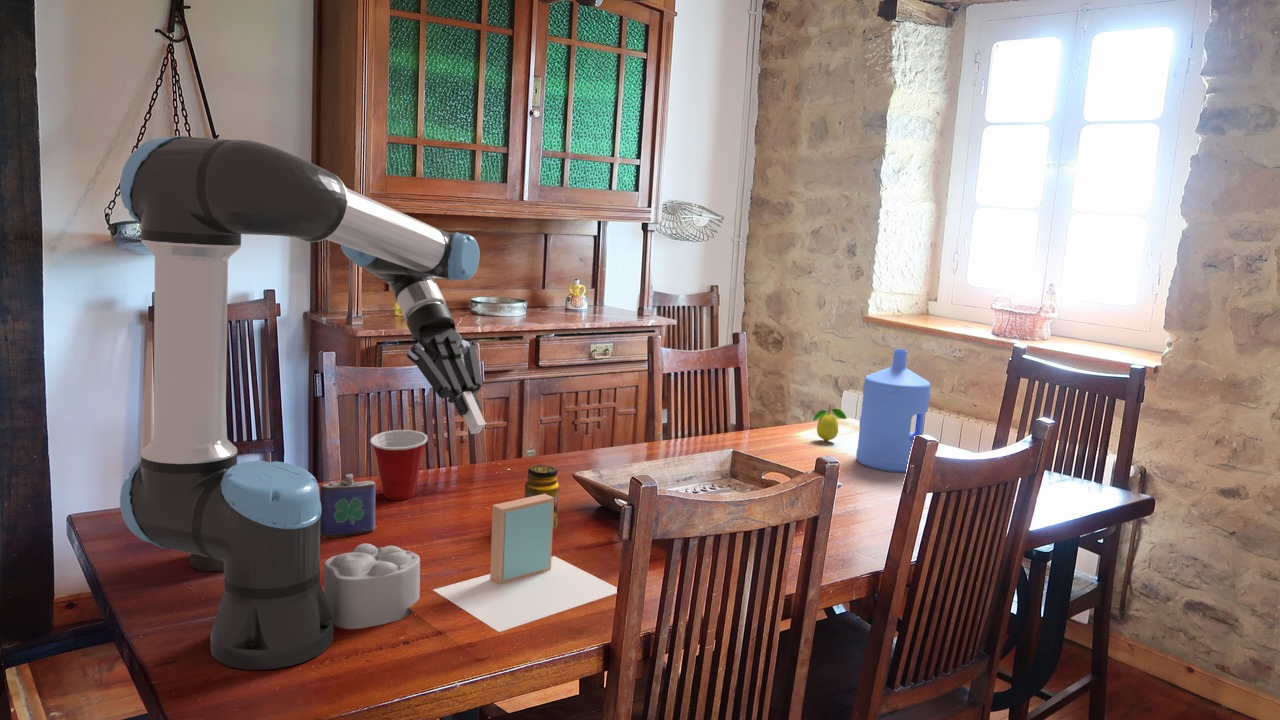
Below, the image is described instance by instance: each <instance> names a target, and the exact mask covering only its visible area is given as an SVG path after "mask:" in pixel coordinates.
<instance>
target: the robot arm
mask: <svg viewBox="0 0 1280 720" xmlns="http://www.w3.org/2000/svg"><path fill="white" fill-rule="evenodd" d="M119 191H120V192H119V194H120V198H121V203H122V205H123V206H124V208H125V209H126V210H128V214H129V215H130V217H131V218H132V219H134V220H135V221H136V222H137V223H139V224H140V226H141V232H140V233H141V236H140V237H141V238H140V239H141V243H142V244H143V245H144V246H145V247H146V248H147V249H148V250H149V251H150V252H151V253H152V254H153V257H154V302H153V303H154V306H153V307H154V313H153V314H154V315H153V316H154V318H153V319H154V320H153V321H154V323H153V325H154V326H153V327H154V329H153V331H154V333H153V334H154V335H153V337H154V339H153V349H154V350H153V352H154V354H153V358H154V359H153V360H154V362H153V363H154V364H153V365H154V366H153V373H154V374H153V376H154V377H153V438H152V440H151V441H150V442H149V443H148V444H147V445H145V447H144V448H142V449H141V451H140V461H138V462H137V463H136V464H135V465H133V467H131V469H130V470H129V472H128V476H129V477H128V478H127V479H124V481H123V482H122V486H121V488H120V495H119V497H120V498H119V506H120V507H119V508H120V513H121V517H122V519H123V521H124V523H125V525H126V527H127V528H128V529H129V531H130V532H131V533H132V534H133V535H134V536H136V537H137V538H139V539H140V540H142V541H144V542H147V543H150V544H153V545H154V546H156V547H160V548H161V549H164V550H175V551H180V552H184V553H188V554H190V553H192V554H196V555H201V556H205V557H209V558H214V559H218V560H222V561H223V562H224V571H223V574H224V575H223V576H224V577H223V578H224V579H223V582H224V588H223V589H224V590H223V595H222V597H221V601H220V603H219V607H218V609H217V612H216V616H215V618H214V620H213V624H212V628H211V629H210V630H211V631H210V636H209V637H210V642H209V643H210V653H211V656H212V657H213V658H214V660H216V661H217V662H219V663H221V664H223V665H225V666H228V667H230V668H231V667H232V668H235V669H241V670H250V671H251V670H254V671H259V670H260V671H262V670H265V671H266V670H273V669H274V670H276V669H281V668H287V667H292V666H295V665H298V664H301V663H305V662H306V661H307V662H308V661H310V660H312V659H314V658H316V657H318V656H320V655H321V654H323V652H325V651H326V650H327V649H328V648H329V647H330V646H331V644H332V643H333V641H334V631H335V630H334V628H335V627H334V626H335V624H334V622H333V617H332V615H331V612H330V609H329V606H328V604H327V601H326V598H325V596H324V589H323V588H322V585H321V576H320V575H321V573H320V570H321V533H320V524H321V510H322V508H321V500H320V496H321V495H320V486H319V483H318V481H317V479H316V477H315V476H314V475H313V474H312V473H311V472H310V471H308V470H307V469H305V468H302V467H301V466H298V465H294V464H291V463H288V462H283V461H277V460H275V461H271V462H269V461H266V460H251V461H246V462H241V463H238V448H237V446H235V445H234V444H233V443H232V442H231V441H230V440H229V439H228V438H227V437H226V421H227V420H226V419H227V417H226V416H227V415H226V414H227V412H226V411H227V409H226V408H227V405H226V404H227V356H228V355H227V354H228V353H227V351H228V349H227V348H228V345H227V344H228V341H227V340H228V285H229V284H228V281H229V276H228V275H229V272H228V271H229V259H230V258H231V257H232V256H233V255H234V254H235V253H236V252H237V251H238V250H240V248H241V247H242V235H249V236H250V235H251V236H253V235H256V236H257V235H258V236H260V235H261V236H276V237H278V236H280V237H288V238H289V237H290V238H295V239H296V238H297V239H299V240H302V241H304V242H309V243H314V242H315V243H317V242H321V241H322V242H323V241H324V240H326V241H329V242H332V243H335V244H338V245H340V248H341V251H342V253H343V254H344V255H345V257H347V259H349V260H351V261H352V262H353V264H354V265H356V266H357V267H360V268H362V269H363V270H365V271H368V272H369V273H370V274H372V275H374V276H375V277H377V278H378V279H380V280H382V281H383V282H385V283H387V284H388V285H389V287H390V289H391V291H392V294H393V296H394V299H395V301H396V302H397V305H398V307H399V308H400V312H401V314H402V316H403V319H404V321H406V325H407V328H408V330H409V332H410V335H411V337H412V339H413V340H414V344H412V346H410V348H409V350H408V351H407V353H406V358H407V359H409V360H410V361H411V362H412V363H413V364H415V365H416V366H417V368H418V369H419V371H420V372H421V374H422V375H423V376H424V378H425V379H426V380H427V382H428V384H430V387H432V389H433V390H434V392H435V393H436V394H437V396H438V397H439V398H440V399H445V398H447V402H448V403H450V404H453V405H454V406H455V409H456V411H457V413H458V415H459V416H463V419H464V421H465V423H466V425H467V427H468V430H469V432H470V434H471V435H474V434H479V433H481V431H482V430H483V429H484V427H485V426H486V421H485V419H484V416H483V415H482V412H481V409H482V405H481V402H480V400H479V399H478V396H477V393H478V392H479V391H480V389H482V387H483V380H482V375H481V369H480V366H479V361H478V356H477V346H478V343H477V341H476V340H474V339H472V340H471V341H467V340H465V339H463V337H462V335H461V334H460V333H459V332H458V331H457V329H456V323H455V320H454V318H453V316H452V313H451V311H450V309H449V307H448V306H447V302H446V300H445V298H444V295H443V293H442V292H441V290H440V287H439V285H438V284H437V282H436V279H441V280H449V281H451V282H453V281H468V280H470V279H471V278H473V277H474V276H475V274H476V273H477V270H478V268H479V265H480V264H479V263H480V259H481V254H480V253H481V252H480V247H479V244H478V241H477V240H476V238H475V237H474V236H472V235H470V234H465V233H460V232H457V231H456V232H449V231H445V230H443V229H439V228H438V227H435V226H432V225H430V224H428V223H425V222H423V221H421V220H419V219H416V218H415V217H412V216H410V215H408V214H406V213H403V212H401V211H399V210H397V209H396V208H395V209H394V208H392V207H390V206H388V205H385V204H383V203H381V202H379V201H377V200H374V199H372V198H370V197H369V196H365V194H361V193H359V192H357V191H354V190H352V189H350V188H348V187H346V186H345V184H344V182H343V180H341V178H340V177H339V176H337V175H336V174H335V173H333V172H332V171H329V170H327V169H324V168H323V167H321V166H319V165H317V164H315V163H312V162H310V161H308V160H306V159H303V158H301V157H299V156H297V155H294V154H292V153H289V152H288V151H286V150H282V149H280V148H277V147H274V146H272V145H268V144H266V143H262V142H259V141H258V142H257V141H254V140H250V139H224V138H223V139H222V138H209V137H198V136H197V137H196V136H195V137H194V136H187V135H181V136H180V135H175V136H169V137H167V136H166V137H157V138H153V139H150V140H147V141H145V142H144V143H143V142H142V144H140V145H139V146H138V147H137V148H136V149H135V150H134V151H133V152H131V153H130V155H129V156H128V158H127V159H126V161H125V163H124V166H123V168H122V171H121V174H120V180H119ZM460 349H461V351H460ZM462 355H463V358H462Z"/></svg>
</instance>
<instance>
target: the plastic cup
mask: <svg viewBox="0 0 1280 720" xmlns="http://www.w3.org/2000/svg"><path fill="white" fill-rule="evenodd" d="M427 442H428V435H427V434H425V433H424V432H422V431H417V430H412V429H411V430H409V429H395V430H387V431H382V432H380V433H378V434H374V435H373V436H372V437H371V438H370V444H371V446H373V449H374V450H373V451H374V452H375V456H376V459H377V466H378V470H379V479H380V481H381V487H382V494H383V497H384V496H385V497H386V498H385V497H384V498H385V499H387V498H388V500H391V499H392V500H393V501H404V500H408V499H412V498H413V497H414V495H415V493H416V489H417V482H418V480H419V476H420V475H419V474H420V470H421V469H420V467H421V463H422V457H423V454H424V450H425V446H426V443H427Z"/></svg>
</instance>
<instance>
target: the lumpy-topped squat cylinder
mask: <svg viewBox="0 0 1280 720" xmlns="http://www.w3.org/2000/svg"><path fill="white" fill-rule="evenodd" d="M420 582H421V559H420V555H418V554H417V553H415V552H413V551H410V550H405V549H402V548H400V547H398V546H395V545H386V546H384V547H382V546H380V547H378V548H377V547H376V546H375V545H373V544H371V543H361V544H358V545H357V546H355V548H354V549H353V551H351V552H345V553H344V552H343V553H341V554H337V555H334V556H331V557H329V558H328V559H327V560H325V562H324V564H323V593H324V596H325V598H326V601H327V604H328V606H329V609H330V612H331V615H332V617H333V622H334V626H336V627H337V628H341V629H346V630H357V629H366V628H370V627H376V626H382V625H386V624H390V623H393V622H397V621H400V620H403V619H404V618H406V617H408V616H409V615H411V614H413V613H414V611H413V610H412V609H410V607H412V606H413V605H415V604H416V603H417V602H418V601H419V599H420V592H421V591H420V589H421V583H420Z"/></svg>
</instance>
